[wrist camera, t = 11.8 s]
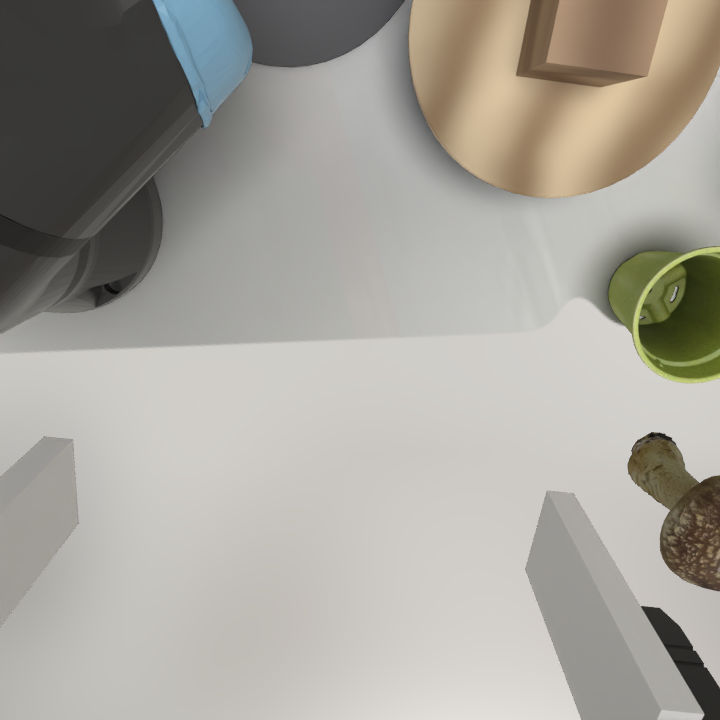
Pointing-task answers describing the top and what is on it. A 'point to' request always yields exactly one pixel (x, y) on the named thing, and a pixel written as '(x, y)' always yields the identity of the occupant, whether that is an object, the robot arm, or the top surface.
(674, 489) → the mushroom
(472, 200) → the top surface
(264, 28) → the mat
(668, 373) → the plant pot
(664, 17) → the lid
